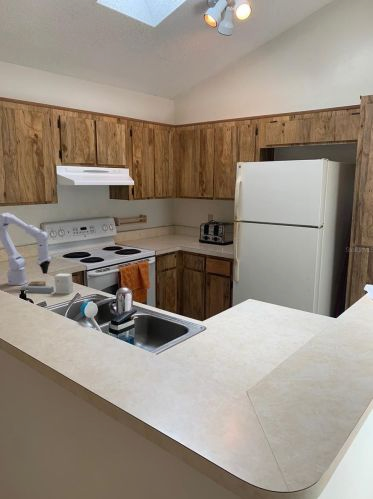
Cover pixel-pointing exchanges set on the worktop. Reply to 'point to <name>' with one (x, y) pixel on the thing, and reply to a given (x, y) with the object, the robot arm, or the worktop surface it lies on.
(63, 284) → the small box
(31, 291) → the board
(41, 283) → the walnut block
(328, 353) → the worktop surface
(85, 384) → the worktop surface
